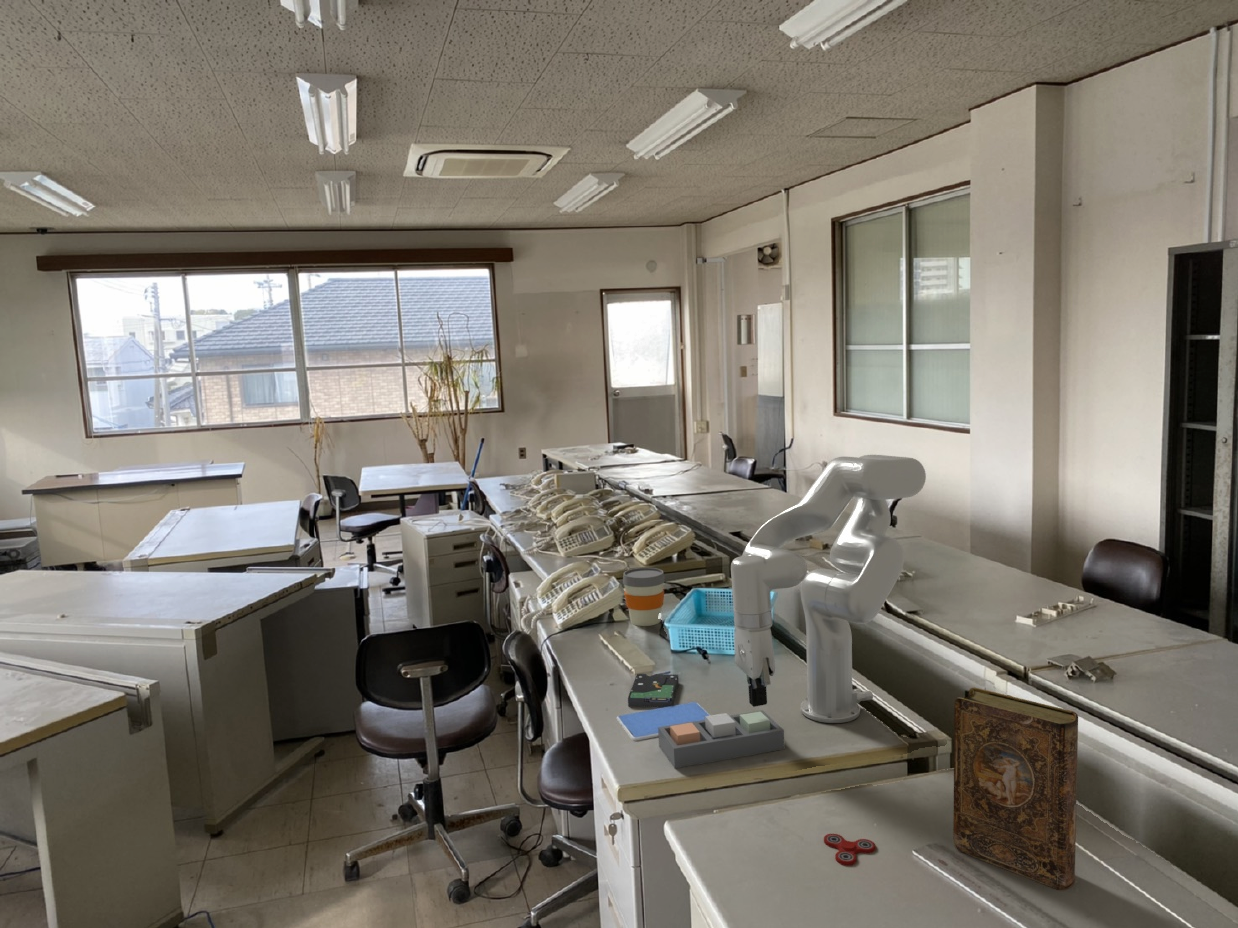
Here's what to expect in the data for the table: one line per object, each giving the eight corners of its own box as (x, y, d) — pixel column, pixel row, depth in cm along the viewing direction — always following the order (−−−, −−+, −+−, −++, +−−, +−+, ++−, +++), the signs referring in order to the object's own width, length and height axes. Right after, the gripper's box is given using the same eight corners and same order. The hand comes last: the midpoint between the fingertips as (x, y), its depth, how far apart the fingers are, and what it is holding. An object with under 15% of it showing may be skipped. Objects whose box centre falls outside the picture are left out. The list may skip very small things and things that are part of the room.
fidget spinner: (821, 840, 136) (820, 832, 136) (864, 835, 137) (864, 827, 137) (840, 869, 129) (840, 861, 128) (885, 863, 129) (885, 855, 129)
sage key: (760, 722, 174) (760, 711, 173) (770, 732, 169) (769, 720, 169) (740, 726, 172) (739, 714, 172) (749, 735, 168) (748, 723, 168)
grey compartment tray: (763, 728, 177) (762, 710, 176) (784, 749, 167) (783, 729, 167) (658, 745, 171) (658, 727, 171) (674, 768, 162) (673, 748, 161)
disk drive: (636, 684, 206) (627, 708, 191) (636, 673, 205) (627, 697, 191) (678, 685, 204) (673, 709, 190) (678, 673, 204) (672, 697, 189)
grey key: (726, 724, 172) (726, 712, 171) (735, 733, 167) (735, 721, 167) (705, 728, 170) (705, 716, 170) (713, 737, 166) (713, 725, 166)
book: (1079, 875, 124) (1083, 713, 121) (1066, 893, 120) (1070, 726, 117) (968, 834, 135) (968, 685, 132) (953, 849, 131) (953, 696, 128)
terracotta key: (692, 734, 170) (691, 722, 169) (700, 744, 165) (699, 731, 165) (670, 737, 169) (670, 726, 168) (677, 747, 164) (677, 735, 164)
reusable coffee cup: (663, 613, 259) (661, 566, 257) (668, 626, 247) (666, 576, 245) (623, 616, 259) (621, 568, 257) (626, 629, 246) (623, 579, 244)
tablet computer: (633, 744, 174) (632, 738, 174) (615, 720, 186) (615, 714, 186) (719, 728, 179) (718, 722, 179) (696, 705, 191) (696, 700, 191)
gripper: (721, 609, 174) (727, 693, 177) (750, 632, 160) (756, 723, 163) (754, 604, 176) (760, 686, 179) (786, 625, 162) (791, 715, 164)
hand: (758, 703), depth 171 cm, fingers closed
